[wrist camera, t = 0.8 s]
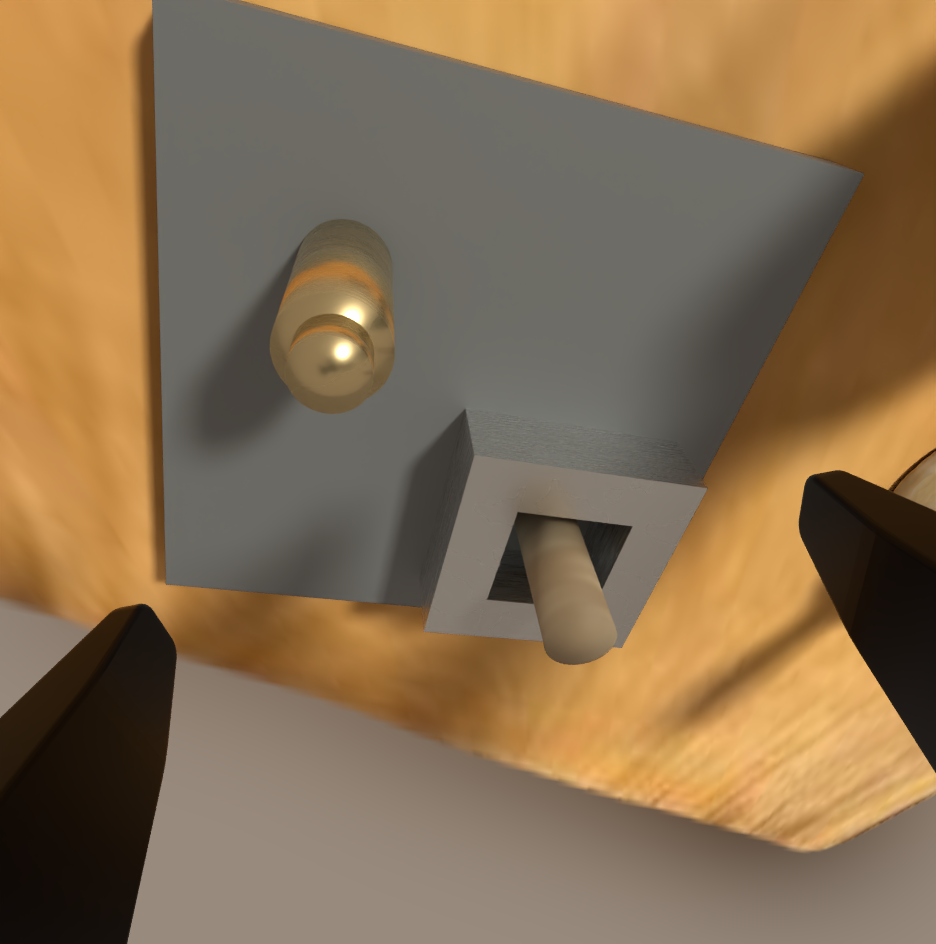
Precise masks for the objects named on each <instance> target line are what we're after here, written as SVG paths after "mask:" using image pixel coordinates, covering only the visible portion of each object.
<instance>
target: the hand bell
mask: <svg viewBox="0 0 936 944" xmlns="http://www.w3.org/2000/svg"><path fill="white" fill-rule="evenodd" d="M893 493H896V494H898V495H900V496H903V497H905V498H907V499H910V500H912V501H914V502H916V503H919V504H921V505H923V506H926V507H928V508H930V509H933V510H935V511H936V451H935V452H934V453H932V454H931V455H930V456H928V457H927V458H926V459H924V460H923V461H922V462H921V463H920V464H919V465H918V466H917V467H916V468H915V469H914V470H912V471H911V472H910V473H909V474H908V475H907V476H906V477H905V478H904V479H903V480H902V481H901V482H900V483H899V485H898V486H897V487H896V489H895V490H894V492H893Z"/></svg>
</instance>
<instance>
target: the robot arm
mask: <svg viewBox="0 0 936 944" xmlns="http://www.w3.org/2000/svg"><path fill="white" fill-rule="evenodd" d="M799 531H800V535H801V538H802V540H803V542H804V544H805V547H806V549H807V551H808V553H809V555H810V557H811V559H812V561H813V563H814V565H815V567H816V569H817V571H818V573H819V575H820V578H821V580H822V582H823V584H824V586H825V588H826V590H827V592H828V594H829V596H830V598H831V600H832V602H833V604H834V606H835V608H836V611H837V613H838V615H839V617H840V619H841V621H842V623H843V625H844V627H845V628H846V630H847V632H848V634H849V636H850V638H851V639H852V641H853V643H854V644H855V646H856V648H857V649H858V651H859V653H860V654H861V656H862V657H863V659H864V661H865V662H866V664H867V665H868V667H869V668H870V670H871V672H872V673H873V675H874V676H875V678H876V680H877V681H878V683H879V684H880V686H881V687H882V689H883V691H884V692H885V694H886V695H887V697H888V698H889V700H890V702H891V703H892V705H893V706H894V708H895V709H896V711H897V713H898V714H899V716H900V717H901V719H902V721H903V722H904V724H905V725H906V727H907V728H908V730H909V732H910V733H911V735H912V736H913V738H914V739H915V741H916V743H917V744H918V746H919V747H920V749H921V750H922V752H923V754H924V755H925V757H926V758H927V760H928V762H929V763H930V765H931V766H932V768H933V769H934V771H935V773H936V511H935V510H933V509H930V508H928V507H926V506H923V505H921V504H919V503H916V502H914V501H912V500H910V499H907V498H905V497H903V496H900V495H898V494H896V493H893V492H891V491H889V490H887V489H884V488H882V487H880V486H877V485H875V484H873V483H870V482H868V481H866V480H864V479H861V478H859V477H857V476H854V475H852V474H850V473H847V472H845V471H840V470H836V471H830V472H825V473H820V474H814V475H812V476H810V477H809V478H808V479H807V480H806V483H805V486H804V492H803V498H802V504H801V510H800V516H799ZM176 659H177V654H176V647H175V644H174V642H173V640H172V638H171V636H170V635H169V633H168V632H167V630H166V629H165V627H164V626H163V624H162V623H161V621H160V620H159V619H158V617H157V616H156V614H155V613H154V611H153V610H152V609H151V607H149V606H148V605H146V604H137V605H132V606H126V607H121V608H118V609H115V610H113V611H112V612H111V613H110V614H108V615H107V616H106V617H105V618H104V619H103V620H102V621H101V622H100V623H99V624H98V625H97V626H96V627H95V628H94V629H93V630H92V631H91V632H90V633H89V634H88V635H87V636H86V637H84V639H82V641H80V642H79V643H78V644H77V645H76V646H75V647H74V648H73V649H72V650H71V651H70V652H69V653H68V654H67V655H66V656H65V657H64V658H62V659H61V660H60V661H59V662H58V663H57V664H56V665H55V666H54V667H53V668H52V669H51V670H50V671H49V672H48V673H47V674H46V675H45V676H44V677H43V678H42V679H40V680H39V681H38V683H36V684H35V685H34V686H33V687H32V688H31V689H30V690H29V691H28V692H27V693H26V694H25V695H24V696H23V697H22V698H21V699H20V700H18V701H17V702H16V704H14V705H13V706H12V707H11V708H10V709H9V710H8V711H7V712H6V713H5V714H4V715H3V716H2V717H1V718H0V944H127V942H128V937H129V932H130V927H131V923H132V918H133V914H134V909H135V904H136V899H137V895H138V890H139V886H140V881H141V876H142V871H143V867H144V862H145V858H146V853H147V848H148V844H149V838H150V834H151V829H152V825H153V820H154V816H155V811H156V806H157V802H158V797H159V792H160V787H161V783H162V778H163V773H164V767H165V762H166V755H167V747H168V738H169V728H170V719H171V708H172V699H173V689H174V679H175V669H176Z"/></svg>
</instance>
